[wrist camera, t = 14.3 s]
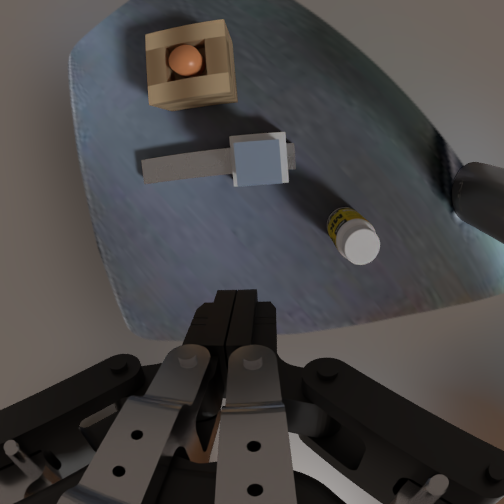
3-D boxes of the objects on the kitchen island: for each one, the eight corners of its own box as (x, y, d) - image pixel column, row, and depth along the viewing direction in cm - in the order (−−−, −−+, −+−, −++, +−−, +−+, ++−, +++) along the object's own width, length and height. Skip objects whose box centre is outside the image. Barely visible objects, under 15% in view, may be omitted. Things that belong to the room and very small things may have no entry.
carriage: (283, 132, 34) (289, 129, 25) (286, 179, 36) (293, 191, 27) (232, 136, 34) (221, 135, 26) (236, 182, 36) (227, 196, 27)
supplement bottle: (330, 202, 37) (348, 219, 29) (365, 210, 37) (389, 229, 29) (321, 238, 38) (335, 264, 31) (355, 245, 39) (375, 272, 31)
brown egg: (204, 50, 26) (198, 42, 23) (206, 76, 27) (200, 69, 24) (176, 55, 26) (167, 48, 23) (178, 80, 27) (169, 75, 24)
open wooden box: (232, 42, 30) (223, 19, 23) (237, 102, 33) (230, 91, 25) (168, 53, 31) (145, 34, 23) (172, 111, 33) (149, 105, 26)
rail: (292, 143, 34) (294, 143, 33) (294, 167, 35) (295, 169, 34) (147, 159, 36) (141, 160, 34) (150, 182, 37) (144, 184, 35)
